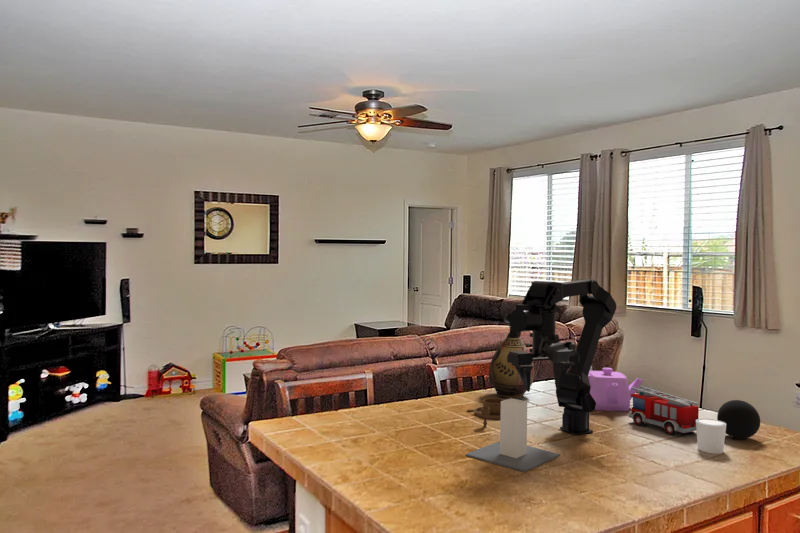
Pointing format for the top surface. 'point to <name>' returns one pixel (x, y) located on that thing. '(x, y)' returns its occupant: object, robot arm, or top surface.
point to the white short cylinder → (710, 435)
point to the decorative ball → (739, 419)
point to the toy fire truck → (664, 411)
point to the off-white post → (513, 428)
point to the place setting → (489, 410)
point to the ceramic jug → (508, 366)
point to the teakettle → (611, 390)
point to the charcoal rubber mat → (520, 463)
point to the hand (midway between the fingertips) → (543, 390)
